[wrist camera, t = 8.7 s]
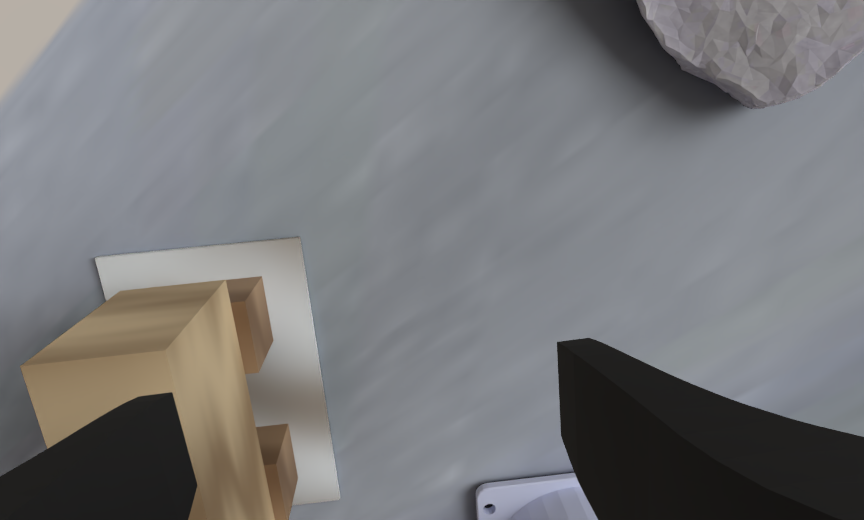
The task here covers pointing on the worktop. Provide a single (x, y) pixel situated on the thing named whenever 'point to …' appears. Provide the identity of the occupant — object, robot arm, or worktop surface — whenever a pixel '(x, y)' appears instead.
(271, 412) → the base with blocks
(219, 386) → the lintel
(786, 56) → the stone block
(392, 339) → the worktop surface
